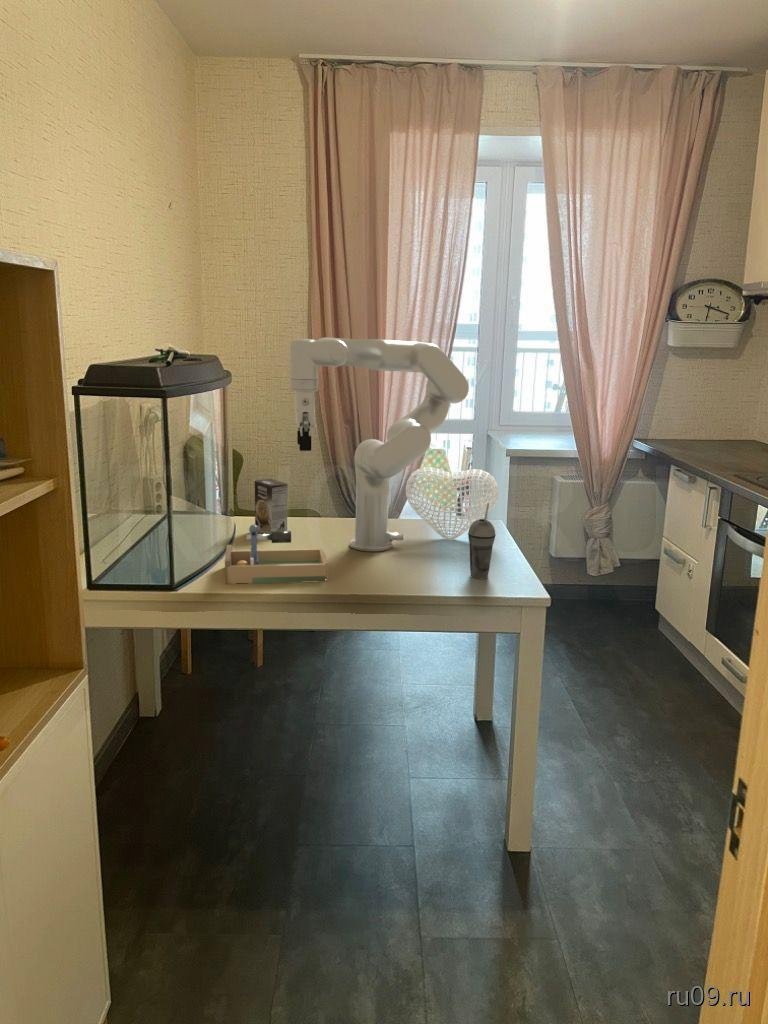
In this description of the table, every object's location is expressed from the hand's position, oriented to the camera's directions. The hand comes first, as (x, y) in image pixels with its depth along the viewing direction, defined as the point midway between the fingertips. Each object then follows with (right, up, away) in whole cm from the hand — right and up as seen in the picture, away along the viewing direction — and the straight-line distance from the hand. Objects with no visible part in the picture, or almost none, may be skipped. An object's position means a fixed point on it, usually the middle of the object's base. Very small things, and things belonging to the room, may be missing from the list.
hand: (304, 447), depth 218 cm
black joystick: (-8, -32, -12) cm, 36 cm away
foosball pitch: (-6, -34, -12) cm, 37 cm away
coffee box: (-13, -24, +25) cm, 38 cm away
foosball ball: (-15, -32, -14) cm, 38 cm away
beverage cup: (+47, -35, -9) cm, 60 cm away
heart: (+42, -27, +23) cm, 55 cm away
